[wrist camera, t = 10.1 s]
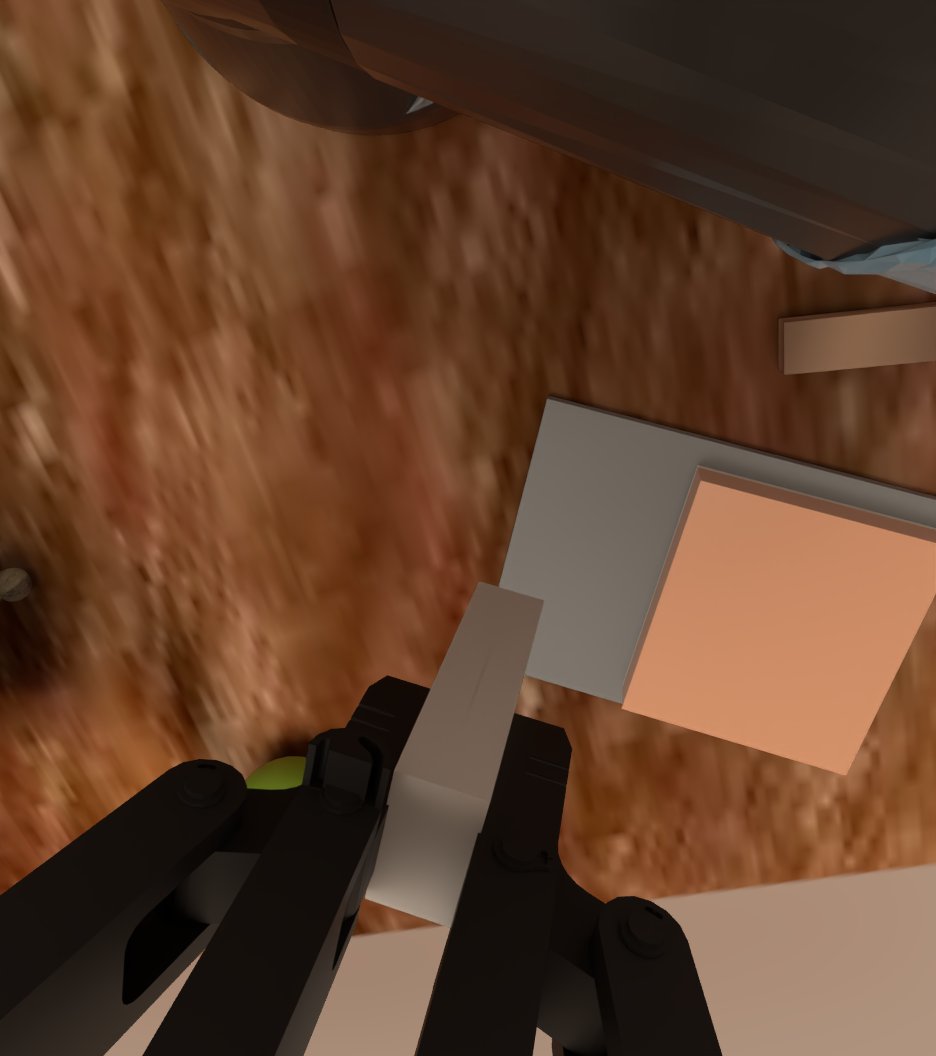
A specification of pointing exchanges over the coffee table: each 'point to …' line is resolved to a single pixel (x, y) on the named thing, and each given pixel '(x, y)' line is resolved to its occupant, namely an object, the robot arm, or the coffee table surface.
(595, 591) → the mat
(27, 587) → the tabletop clock
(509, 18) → the robot arm
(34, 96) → the coffee table surface
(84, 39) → the coffee table surface
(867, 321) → the turner
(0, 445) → the coffee table surface
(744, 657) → the tile
